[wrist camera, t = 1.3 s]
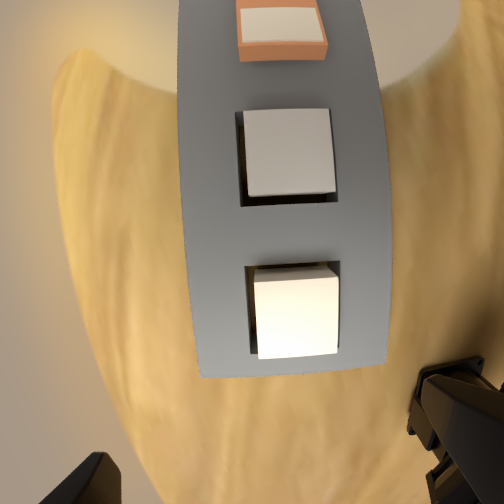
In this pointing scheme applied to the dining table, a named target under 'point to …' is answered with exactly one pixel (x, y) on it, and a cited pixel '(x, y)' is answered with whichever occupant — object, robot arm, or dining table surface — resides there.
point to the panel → (289, 215)
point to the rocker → (280, 30)
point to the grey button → (289, 152)
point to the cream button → (296, 311)
